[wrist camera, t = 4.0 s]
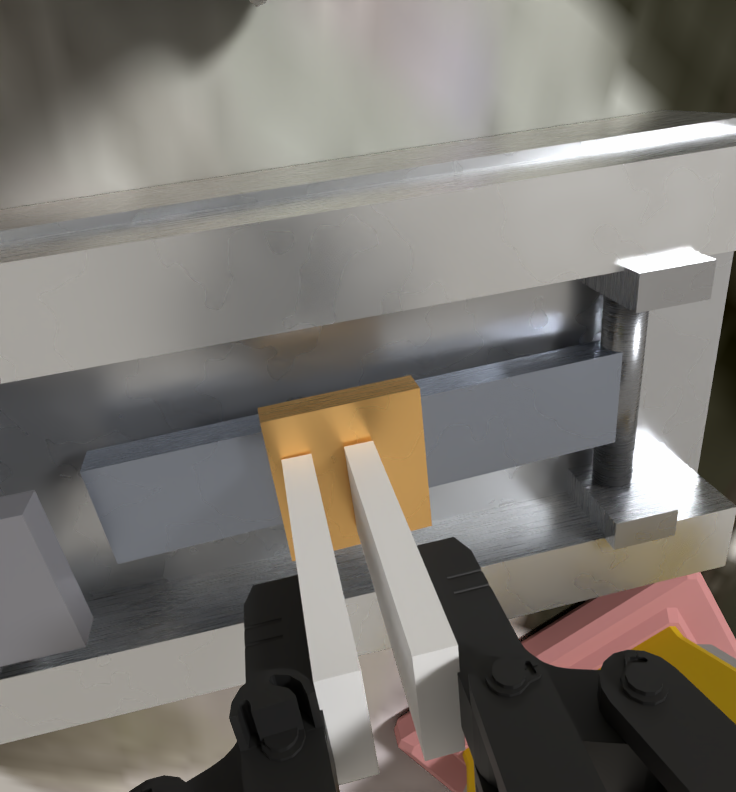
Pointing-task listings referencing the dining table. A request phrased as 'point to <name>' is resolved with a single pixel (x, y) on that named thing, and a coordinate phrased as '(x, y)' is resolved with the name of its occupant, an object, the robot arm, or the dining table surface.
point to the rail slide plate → (361, 369)
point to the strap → (376, 444)
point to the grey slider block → (36, 586)
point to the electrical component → (258, 2)
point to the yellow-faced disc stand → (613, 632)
